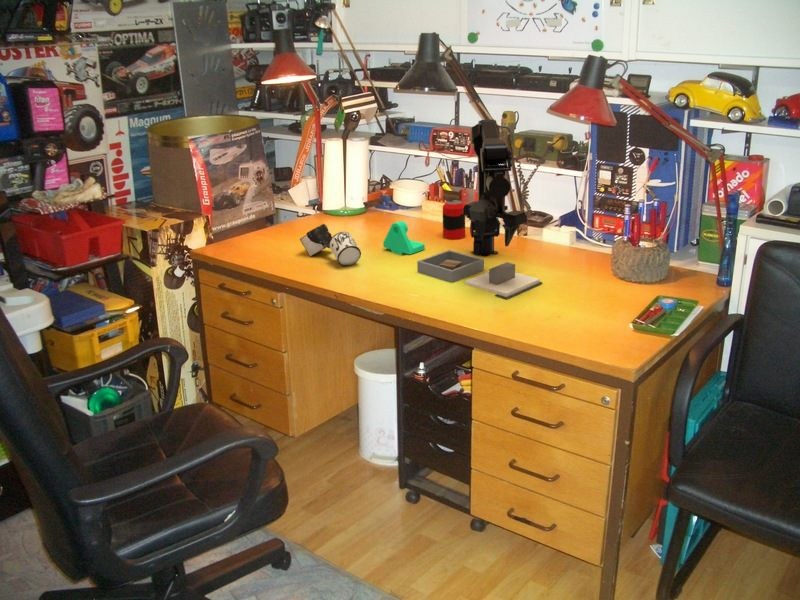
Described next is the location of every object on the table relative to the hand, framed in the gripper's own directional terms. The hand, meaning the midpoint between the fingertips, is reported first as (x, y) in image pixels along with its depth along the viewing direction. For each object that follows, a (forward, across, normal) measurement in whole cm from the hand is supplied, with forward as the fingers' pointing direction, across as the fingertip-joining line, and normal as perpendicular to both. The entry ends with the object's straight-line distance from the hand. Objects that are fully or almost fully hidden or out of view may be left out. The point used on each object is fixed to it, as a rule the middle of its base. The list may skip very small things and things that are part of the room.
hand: (493, 242), depth 223 cm
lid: (+11, +4, -1) cm, 12 cm away
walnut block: (+11, -14, -3) cm, 18 cm away
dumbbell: (+12, -51, -18) cm, 56 cm away
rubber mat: (+12, +4, -1) cm, 12 cm away
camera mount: (+12, -40, +4) cm, 42 cm away
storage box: (+12, -14, -3) cm, 18 cm away
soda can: (+13, -38, +25) cm, 47 cm away
